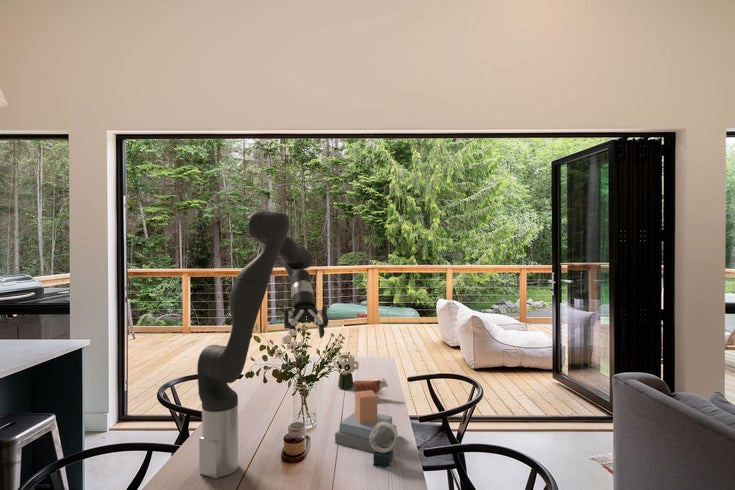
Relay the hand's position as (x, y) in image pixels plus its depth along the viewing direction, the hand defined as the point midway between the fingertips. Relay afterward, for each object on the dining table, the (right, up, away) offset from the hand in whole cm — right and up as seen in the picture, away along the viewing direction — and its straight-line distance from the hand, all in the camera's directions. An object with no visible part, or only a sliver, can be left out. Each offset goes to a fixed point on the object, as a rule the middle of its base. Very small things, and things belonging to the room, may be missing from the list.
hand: (308, 337), depth 151 cm
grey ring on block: (+23, -31, -19) cm, 43 cm away
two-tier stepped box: (+18, -31, -4) cm, 36 cm away
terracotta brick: (+18, -25, -5) cm, 31 cm away
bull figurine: (+20, -30, +31) cm, 47 cm away
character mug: (+10, -30, +44) cm, 54 cm away
